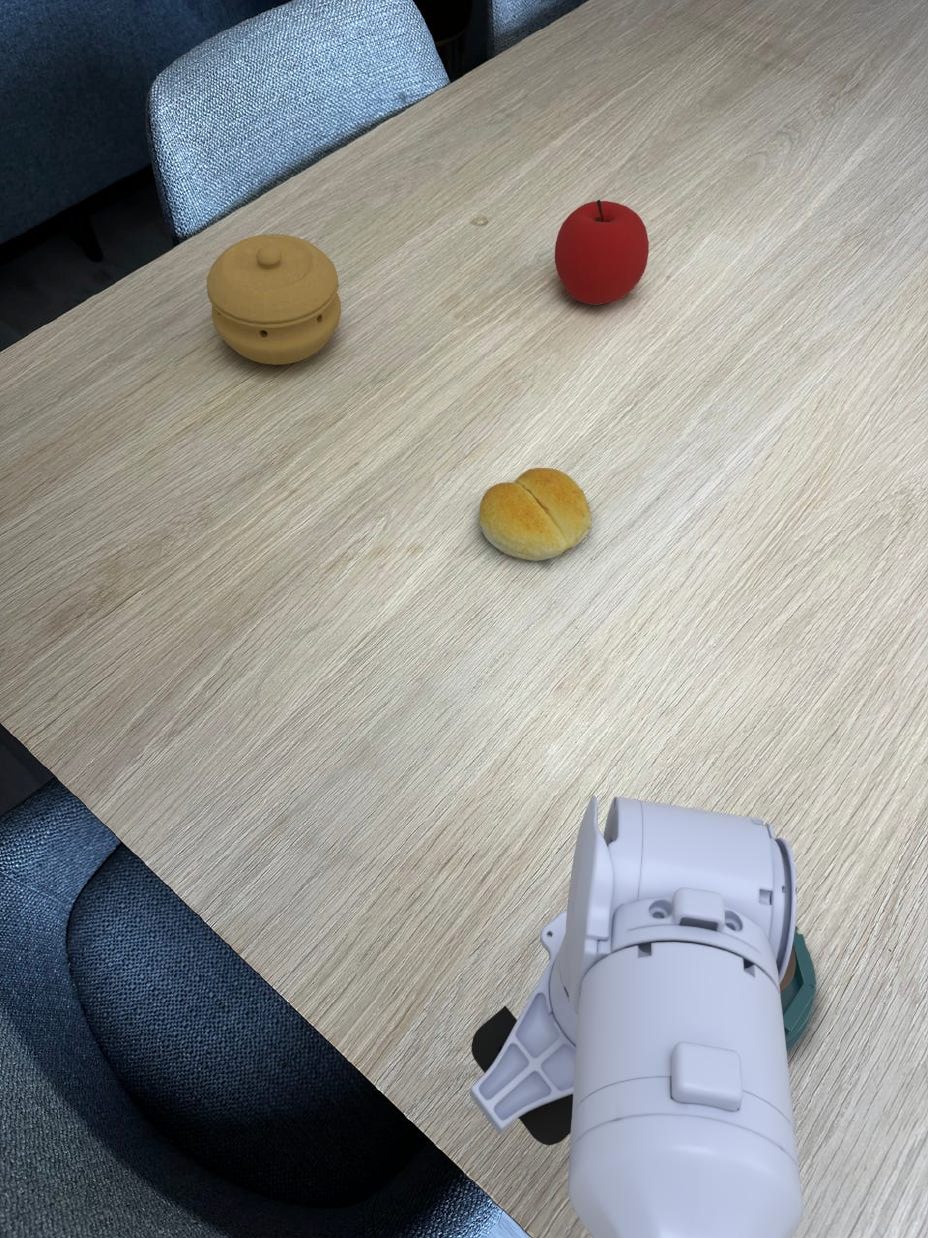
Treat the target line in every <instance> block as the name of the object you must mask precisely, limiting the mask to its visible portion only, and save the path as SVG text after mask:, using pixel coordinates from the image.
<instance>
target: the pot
mask: <svg viewBox="0 0 928 1238" xmlns="http://www.w3.org/2000/svg"><path fill="white" fill-rule="evenodd" d="M206 290H207V291H206V293H207V296H208V299H209V303H210V305H211V320H212V324H213V326H214V329H215V331H216V332H217V333H218V335H219V336H220V338H221V339H222V340H223V341H224V342H225V343H226V344H227V345H228V346H229V347H230V348H231V349H233V350H234V351H235V352H236V353H238V354H239V355H240V356H242V357H245V358H246V359H248V360H251V361H253V362H256V363H259V364H264V365H271V366H272V365H273V366H276V365H278V366H279V365H289V364H294V363H298V362H301V361H303V360H306V359H308V358H310V357H312V356H313V355H315V354H317V353H318V352H319V351H320V350H321V349H322V348H323V347H324V346H325V345H327V343H328V342H329V340H330V339H331V337H332V336H333V334H334V333H335V331H336V329H337V328H338V325H339V322H340V320H341V319H340V318H341V316H342V302H341V299H340V296H339V294H338V290H339V276H338V271H337V269H336V267H335V264H334V262H333V261H332V260H331V259H330V258H329V257H328V256H327V254H326V253H325V252H324V251H322V249H320V248H319V247H317V246H315V245H314V244H313V243H311V242H309V241H307V240H304V239H302V238H300V237H297V236H294V235H289V234H280V233H265V234H259V235H253V236H250V237H246V238H244V239H242V240H239V241H237V242H235V243H234V244H232V245H231V246H229V247H227V249H225V250H224V251H222V252H221V254H219V256H218V257H217V259H215V261H214V262H213V263H212V265H211V267H210V269H209V272H208V274H207V276H206Z"/></svg>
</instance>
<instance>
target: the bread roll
mask: <svg viewBox="0 0 928 1238" xmlns="http://www.w3.org/2000/svg"><path fill="white" fill-rule="evenodd" d="M584 492H585V491H584V490H583V489H582V488H581V487H580V486H579V484H578V483H577V481H575V480H574V478H573V477H572V476H571V475H569V474H567V473H566V472H563V471H561V470H559V469H556V468H549V467H535V468H533V467H532V468H530V469H527V470H526V471H524V472H523V473H521V474H520V475H519V476H518V477H517V478H516V479H515V480H514V481H513V482H508V481H507V482H499V483H496V484H494V485H492V486H491V487H489V489H487V490H486V491H485V492H484V494H483V496H482V499H481V501H480V504H479V509H478V517H479V525H480V529H481V531H482V534H483V535H484V537H485V539H486V540H487V541H488V543H490V544H491V545H492V546H493V547H494V548H495V549H497V550H498V551H500V552H502V553H504V554H506V555H508V556H512V557H515V558H519V559H522V560H527V561H533V562H537V561H538V562H539V561H545V560H549V559H553V558H555V557H558V556H560V555H562V554H563V553H564V552H565V551H567V550H570V549H572V548H574V547H576V546H578V545H579V544H580V543H581V542H582V541H583V540H584V539H586V537H587V536H588V534H589V532H590V531H591V529H592V527H593V523H592V522H593V521H592V516H591V514H592V513H591V511H590V506H589V503H588V500H587V497H586V495H585V493H584Z"/></svg>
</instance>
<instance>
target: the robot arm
mask: <svg viewBox="0 0 928 1238" xmlns="http://www.w3.org/2000/svg"><path fill="white" fill-rule="evenodd" d="M598 805H599V804H598V798H597V796H596V795H594V794H593V795H592V796H591V797H590V799H589V801H588V804H587V806H586V809H585V811H584V814H583V817H582V820H581V821H580V825H579V829H578V833H577V836H576V842H575V846H574V853H573V860H572V866H571V872H570V878H569V879H570V880H569V887H568V898H567V905H566V909H564V910H563V911H561V912H560V913H559V914H557V915H556V916H555V917H554V918H553V919H552V920H551V921H549V923H547V924H546V925H545V926H544V927H543V928H542V930H541V931H540V934H539V942H540V944H541V946H542V948H543V949H544V950H545V951H546V952H547V954H548V957H549V961H548V963H547V965H546V967H545V968H544V970H543V972H542V974H541V976H540V978H539V980H538V982H537V983H536V985H535V987H534V989H533V991H532V993H531V994H530V996H529V998H528V1000H527V1002H526V1004H525V1006H524V1007H523V1008H522V1011H521V1013H520V1015H519V1016H518V1018H516V1017H515V1016H514V1014H513V1013H512V1012H511V1011H510V1009H509V1008H508V1007H507V1005H504V1006H503V1007H502V1008H500V1010H498V1011H497V1012H495V1013H494V1014H493V1015H492V1016H491V1017H490V1018H489V1019H487V1020H486V1022H484V1023H482V1025H480V1027H479V1028H478V1029H477V1030H476V1031H475V1033H474V1035H473V1037H472V1040H471V1045H470V1046H471V1047H470V1049H471V1055H472V1057H473V1059H474V1061H475V1063H476V1064H477V1065H478V1066H479V1068H480V1069H481V1070H482V1072H483V1075H482V1076H481V1077H479V1078H478V1080H476V1082H475V1083H473V1084H472V1085H471V1086H470V1090H469V1091H470V1092H469V1096H470V1098H471V1099H472V1100H473V1101H474V1103H475V1104H476V1106H477V1107H478V1108H479V1110H480V1111H481V1113H482V1114H483V1115H484V1116H485V1118H486V1119H487V1121H488V1122H489V1123H490V1124H491V1126H492V1127H493V1128H494V1130H495V1131H496V1132H497V1134H499V1135H501V1134H502V1133H504V1131H506V1130H507V1129H508V1128H509V1127H510V1126H511V1125H512V1124H514V1123H515V1121H516V1120H517V1119H519V1121H520V1122H521V1123H522V1124H523V1126H524V1128H525V1129H526V1130H527V1131H528V1133H529V1134H530V1135H531V1136H532V1138H533V1139H534V1140H535V1141H537V1142H538V1143H540V1144H542V1145H544V1146H547V1147H548V1146H554V1145H557V1144H559V1143H561V1142H562V1141H564V1140H565V1139H566V1138H567V1137H568V1136H569V1135H570V1137H569V1138H570V1139H569V1154H568V1155H569V1156H568V1157H569V1161H568V1172H567V1173H568V1176H567V1195H568V1198H569V1202H570V1205H571V1206H572V1209H573V1211H574V1213H575V1214H576V1217H577V1218H578V1220H579V1221H580V1223H581V1224H582V1226H584V1228H585V1230H586V1231H587V1232H588V1233H589V1235H590V1237H591V1238H792V1237H794V1235H795V1234H796V1232H797V1230H798V1229H799V1227H800V1224H801V1222H802V1218H803V1213H804V1201H803V1200H804V1199H803V1191H802V1184H801V1176H800V1175H801V1174H800V1164H799V1155H798V1145H797V1136H796V1135H797V1134H796V1127H795V1126H796V1125H795V1116H794V1108H793V1099H792V1090H791V1089H792V1088H791V1079H790V1071H789V1070H790V1069H789V1061H788V1052H787V1051H786V1042H785V1033H784V1023H783V1014H782V1005H781V995H780V986H779V985H780V983H781V981H782V979H783V977H784V975H785V972H786V969H787V966H788V962H789V959H790V954H791V950H792V945H793V939H794V932H795V926H796V923H797V910H798V909H797V908H798V894H797V893H798V882H797V881H798V880H797V869H796V862H795V857H794V853H793V850H792V848H791V845H790V844H789V842H788V841H787V840H786V839H785V838H783V837H776V836H775V831H774V826H773V825H772V824H771V823H765V824H764V820H763V819H761V818H760V817H753V816H747V815H740V814H733V813H727V812H720V811H713V810H707V809H699V808H693V807H688V806H681V805H674V804H668V803H663V802H655V801H648V800H643V799H637V798H630V797H623V796H614V797H613V798H612V801H611V803H610V806H609V809H608V813H607V817H606V820H605V825H604V831H603V834H602V832H601V830H600V828H599V826H598V825H599V824H598V823H599V822H598V821H599V812H598V811H599V806H598Z"/></svg>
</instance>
